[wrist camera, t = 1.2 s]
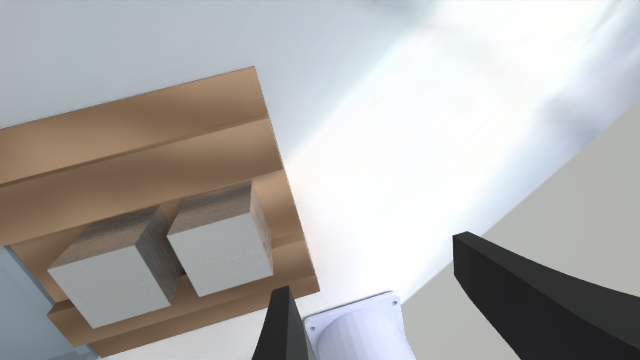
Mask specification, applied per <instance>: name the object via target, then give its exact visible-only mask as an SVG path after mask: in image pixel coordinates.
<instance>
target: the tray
mask: <svg viewBox="0 0 640 360" xmlns="http://www.w3.org/2000/svg"><path fill="white" fill-rule="evenodd" d="M55 304H56V302H55V301H54V299H53V298H52V297H51V296H50V295H49V293H48V292H47V291H46V290H45V288H44V287H43V286H42V285H41V284H40V282H39V281H38V280H37V279H36V278H35V276H34V275H33V274H32V273H31V271H30V270H29V269H28V268H27V267H26V265H25V264H24V263H23V262H22V261H21V259H20V258H19V257H18V256H17V254H16V253H15V252H14V251H13V250H12V248H11V247H10V246H9V245H6V246H2V247H0V360H96V359H97V357H98V355H99V354H98V353H97V352H96V351H95V349H94V348H93V347H92V346H91V344H90V343H88V344H85V345H82V346H78V347H75V348H74V347H73V346H72V345H71V344H70V342H69V341H68V340H67V339H66V338H65V337H64V335H63V334H62V333H61V332H60V331H59V330H58V329H57V327H56V326H55V325H54V324H53V323H52V322H51V320H50V319H49V318H48V317H47V316H46V315H47V314H48V312H49V311H50V310H51V309H52V307H53V306H54V305H55Z"/></svg>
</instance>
